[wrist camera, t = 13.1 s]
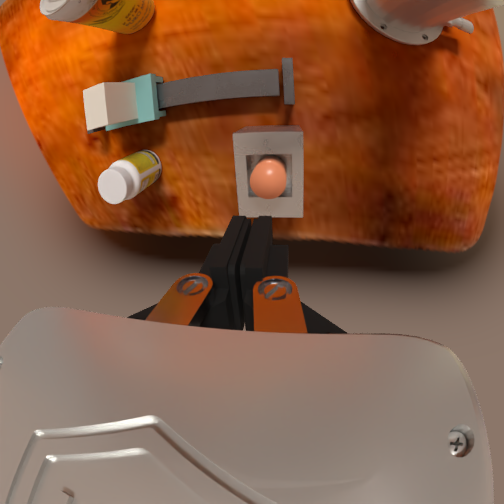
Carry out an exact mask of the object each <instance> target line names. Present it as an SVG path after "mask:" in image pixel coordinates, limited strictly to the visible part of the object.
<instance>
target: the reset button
mask: <svg viewBox="0 0 504 504" xmlns="http://www.w3.org/2000/svg"><path fill="white" fill-rule="evenodd" d="M286 174H287V170H286V166H285V164H284V162H283V161H282V160H281V159H280V158H278V157H276V156H265V157H263V158H261V159H260V160H259V161H258V163H257V164H256V166H255V168H254V170H253V172H252V174H251V177H250V186H251V189H252V190H253V192H254V193H255V194H256V195H257V196H259V197H261V198H264V199H274V198H276V197H278V196H280V195H281V194H282V193H283V191H284V190H285V187H286Z"/></svg>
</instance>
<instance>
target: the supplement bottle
mask: <svg viewBox="0 0 504 504" xmlns="http://www.w3.org/2000/svg"><path fill="white" fill-rule="evenodd" d="M161 170H162V167H161V162H160V160H159V158H158V156H157V155H156V154H155V153H154V152H152V151H150V150H141V151H138V152H136V153H133V154H131V155H129V156H127V157H124V158H122V159H120V160H118V161H116V162H114V163H113V164H112V165H111V166H110V167H109V169H107V170H105V171H104V172H103V173H102V174H101V175H100V177H99V180H98V189H99V192H100V194H101V196H102V197H103V199H104V200H105V201H107V202H108V203H111V204H118V203H121V202H122V201H124V200H128V199H131V198H133V197H135V196H136V195H137V194H139V193H140V192H141V191H143V190H144V189H146V188H147V187H148V186H150V185H151V184H152V183H154V182H155V181H156V180H157V179H158V178H159V176H160V174H161Z"/></svg>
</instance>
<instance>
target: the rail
mask: <svg viewBox="0 0 504 504" xmlns="http://www.w3.org/2000/svg"><path fill="white" fill-rule="evenodd" d="M282 67H283V84H284V103H285V104H295V100H294V80H293V63H292V58H282ZM156 88H157V99H158V109H162V108H167V107H173V106H178V105H184V104H191V103H198V102H205V101H214V100H223V99H234V98H247V97H267V96H280V89H279V72H278V69H269V70H250V71H238V72H228V73H219V74H211V75H204V76H198V77H192V78H186V79H181V80H176V81H171V82H166V83H162V84H157V85H156ZM104 129H106V126H103V127H99V128H95V129H92V130H88V134H90V133H93V132H97V131H101V130H104Z"/></svg>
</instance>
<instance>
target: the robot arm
mask: <svg viewBox="0 0 504 504" xmlns="http://www.w3.org/2000/svg"><path fill="white" fill-rule="evenodd" d="M350 1H351V3H352V5H353V7H354V9H355V10H356V11H357V13H358V14H359V15H360V17H361V18H362V19H363V20H364V21H365V22H366V23H367V24H368V25H369V26H371V27H372V28H373V29H374V30H376V31H377V32H379V33H380V34H382V35H384V36H385V37H387V38H389V39H391V40H394V41H396V42H399V43H402V44H408V45H423V44H427V43H429V42H432V41H434V40H435V39H436V38H438V36H439V35H440V34H441V32H442V29H443V26H448V27H453V26H454V27H457V28H458V29H460V30H462V31H465V32H467V33H469V34H471V33H472V32H473V29H474V28H473V24H472V23H471V22H470V21H468V20H466V19H464V18H462V17H463V16H466V15H469V14H473V13H476V12H479V11H483V10H487V9H490V8H494V7H498V6H502V5H504V0H350ZM381 27H382V28H383V29H382V28H381ZM422 37H423V38H422ZM244 323H245V326H246V331H243V328H244ZM0 504H494V485H493V470H492V462H491V454H490V448H489V442H488V437H487V432H486V427H485V422H484V418H483V414H482V411H481V408H480V404H479V401H478V398H477V395H476V392H475V390H474V387H473V385H472V382H471V380H470V378H469V376H468V373H467V372H466V369H465V367H464V366H463V364H462V363H461V361H460V360H459V358H458V357H457V356H456V355H455V354H454V352H453V351H451V350H450V349H449V348H447V347H446V346H444V345H442V344H440V343H437V342H434V341H432V340H428V339H424V338H420V337H416V336H409V335H402V334H385V333H383V334H382V333H381V334H349V333H347V332H345V331H343V330H342V329H341V328H339V327H338V326H336V325H335V324H333V323H332V322H330V321H329V320H327V319H326V318H324V317H323V316H321V315H320V314H318V313H317V312H315V311H314V310H312V309H311V308H309V307H308V306H306V305H305V304H304V303H302V302H301V301H300V298H299V294H298V290H297V286H296V284H295V283H294V282H293V281H292V280H290V279H288V245H273V235H272V216H259V217H258V219H254V221H253V224H252V226H251V219H247V218H246V216H233V217H232V219H231V221H230V223H229V225H228V228H227V230H226V232H225V234H224V236H223V238H222V240H221V243H220V244H213V246H212V247H211V249H210V252H209V254H208V256H207V258H206V260H205V262H204V264H203V266H202V268H201V270H200V272H199V273H193V274H188V275H185V276H183V277H181V278H179V279H178V280H177V281H176V282H175V283H174V284H173V285H172V286H171V288H170V289H169V290H168V291H167V293H166V294H165V295H164V296H163V298H162V299H161V300H160V302H159V303H158V304H155V305H153V306H151V307H149V308H147V309H144V310H142V311H140V312H138V313H136V314H133V315H131V316H129V317H127V318H125V317H118V316H112V315H107V314H101V313H95V312H90V311H84V310H78V309H72V308H63V307H46V308H40V309H36V310H34V311H31V312H29V313H27V314H26V315H25V316H24V317H23V318H22V319H21V320H20V321H19V322H18V323H17V324H16V326H15V327H14V328H13V329H12V330H11V332H10V333H9V334H8V335H7V337H6V338H5V339H4V341H3V342H2V344H1V345H0Z"/></svg>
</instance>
